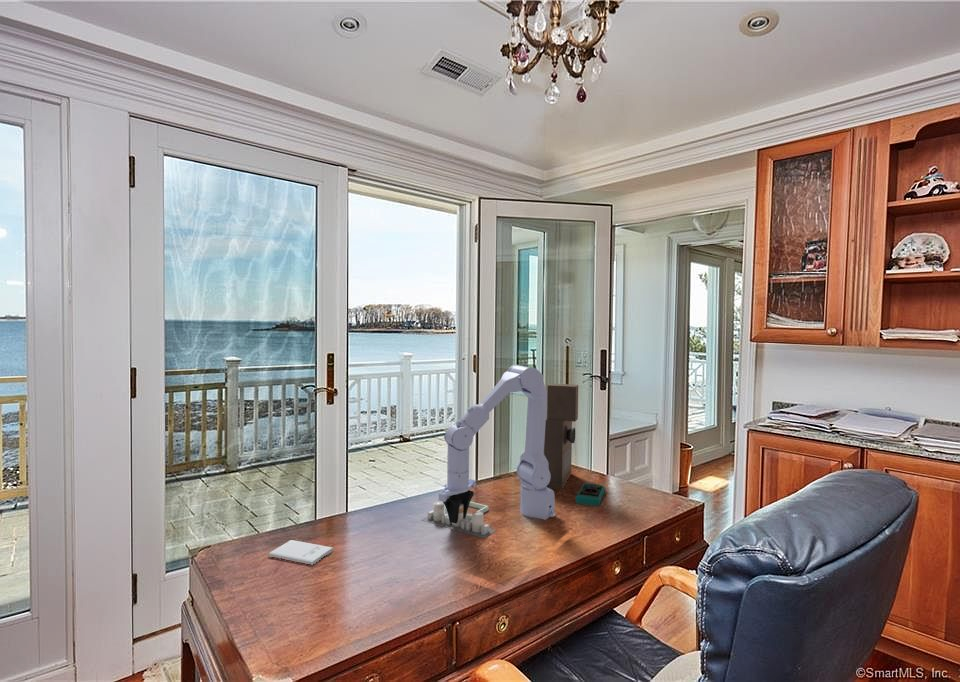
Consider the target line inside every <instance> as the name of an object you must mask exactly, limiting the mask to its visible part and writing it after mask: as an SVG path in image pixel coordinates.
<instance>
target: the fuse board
mask: <svg viewBox="0 0 960 682" xmlns="http://www.w3.org/2000/svg"><path fill="white" fill-rule="evenodd" d="M421 521H423V522H425V523H429V524H433V525H437V526H439V527H444V528H447V529H450V530H453V531H457V532H459V533H460V532H461V533H462V534H463V533H464V534H467V535H471V536H474V537H478V538H481V539H485V538H487V537H488V536H490V535H492V534H493V533H495V532H496V531H497V529H493V528H490V524H489V523H488V524H487V523H485V524H483V526H482V527H481V533H474V532H472V520H469V519H463V521H461V527H453V526H452V522H450V520H449V516H448V514H446V513H444V515H443V516H441V522H435V521H433V509H432V510H430V511H428V512H427V516H425V517H424V518H422V519H421Z"/></svg>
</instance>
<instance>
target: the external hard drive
mask: <svg viewBox="0 0 960 682" xmlns="http://www.w3.org/2000/svg"><path fill="white" fill-rule="evenodd" d="M332 552H334V547H332V546H326V545H322V544H321V545H320V544H316V543H310V542H305V541H299V540H293V539H290V540H288V541H287V542H285V543H284V544H283V543H282V545H280V546H278V547H276V548H275V549H273V550H272V551H270V552H269V553H268V557H269V556H274V557H278V558H282V559H288V560H292V561H298V562H302V563H306V564H311V565H313V564H314V565H315V564H317V563H318V562H320V561H321V560H322V559H323V558H325V557H327V556H328V555H330V554H331V553H332ZM326 555H327V556H326ZM324 556H325V557H324ZM321 558H322V559H321ZM319 560H320V561H319ZM316 562H317V563H316ZM306 564H305V565H306ZM311 565H310V566H311ZM314 565H313V566H314Z"/></svg>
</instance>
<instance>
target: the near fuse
mask: <svg viewBox="0 0 960 682" xmlns="http://www.w3.org/2000/svg"><path fill="white" fill-rule="evenodd" d="M471 514H472V532H474V533H481V527H482V526H484V513H482V512H476V511H473V512H472V513H471Z"/></svg>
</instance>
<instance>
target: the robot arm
mask: <svg viewBox="0 0 960 682" xmlns="http://www.w3.org/2000/svg"><path fill="white" fill-rule="evenodd" d="M545 385H546V384H545V382H544V375H543V374H542V373H541V371H539V370H538V369H537V368H535V367H532V366H531V367H530V366H525V365H524V366H523V365H520V364H514V365H511V366H510V367H508V370H507V371H504V373H503V374H502V375H501V378H500V379H499V381H498V382H497V383H496V385H495V386H493V388H492V389H491V391H489V393H488V394H487V395H486V396H485V398H484V399H483V400H482V401H481V402H480V403H478V404H473V405H472V406H470V405H469V406H468V407H467V409H466V410H467V411H466V412H465V413H464V415H462V416H461V418H460V419H459V420H456V421H455V424H454V425H450V426H449V427H448V428H447V430H446V431H445V432H446V433H445V434H444V435H443V439H444V441H445V443H446V444H447V460H446V461H447V464H446V465H447V467H446V468H447V481H446V483H445V484H444V488H443V489H442V490H441V491H440V492H438V502H443V503H444V508H445V509H447V512H448V516H449V520H450V522H452V523H457V521H458V514H459V507H460V504H463V520H464V519H465V518H466V514H468V509H469V507H470V506H469V503H470V502H472V501H471V500H472V498H474V495H475V492H474V490H471V489H474V488H476V487H477V483H476V482H477V481H476V479H471V478H469V464H470V463H469V462H470V461H469V457H470V456H469V455H470V453H469V451H470V450H469V448H470V447H471V446H472V444H473V441H474V440H473V439H474V436H476V434H477V433H478V432H479V431H480V430H481V429H482V428H483V427H484V425H485V424H486V423H487V422H488V421H489V419H490V412H492V411H493V410H494V409H495V407H497V406H498V405H499V404H500V403H501V402H502V401H503V400H504V399H505V398H506V397H507V396H508V395H509V394H511V393H516V392H517V393H518V392H521V393H523V395H524V396H525V397H526V398H527V410H526V411H527V412H526V413H527V414H526V426H525V428H526V429H525V442H524V443H525V444H524V451H523V453H522V454H521V455H520V457H519V462H518V465H517V467H516V475H517V477H518V479H520V510H519V511H520V515H523V516H525V517H529V518H536V519H541V520H543V521H544V520H547V519H549V518H550V517H551V518H554V517H556V513H555V510H556V509H555V506H556V505H555V504H556V503H555V500H556V499H555V498H556V497H555V491H554V490H553V489H552V488H547V487H546V486H547V485H548V484H549V482H550V478H551V474H550V471H549V468H548V465H549V463H548V461H547V459H546V457H545V455H544V440H545V424H546V410H547V388H546V386H545Z"/></svg>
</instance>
